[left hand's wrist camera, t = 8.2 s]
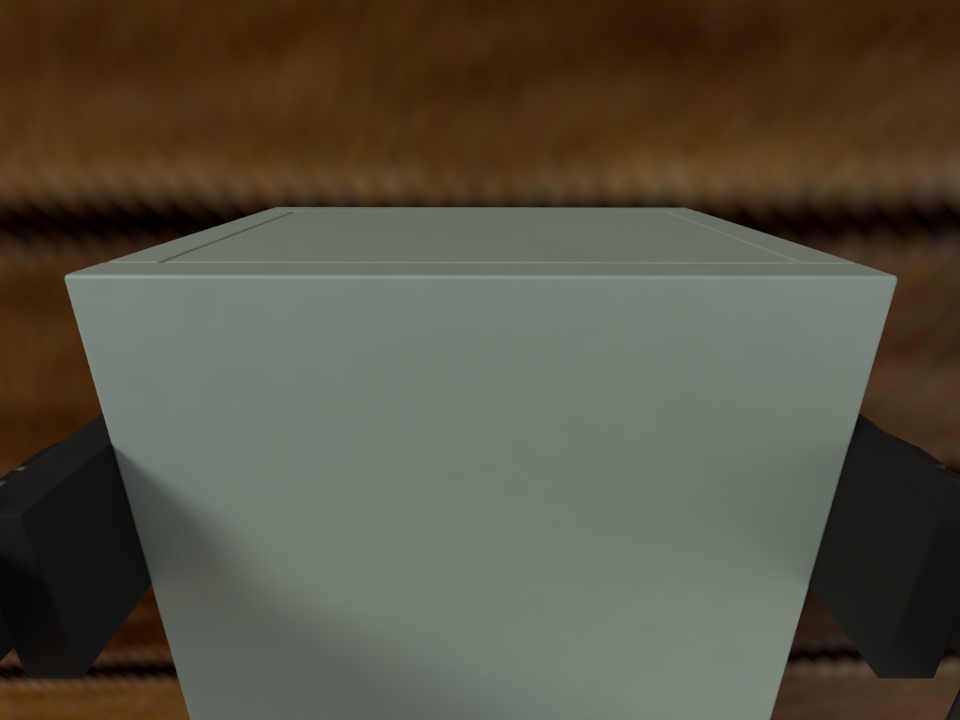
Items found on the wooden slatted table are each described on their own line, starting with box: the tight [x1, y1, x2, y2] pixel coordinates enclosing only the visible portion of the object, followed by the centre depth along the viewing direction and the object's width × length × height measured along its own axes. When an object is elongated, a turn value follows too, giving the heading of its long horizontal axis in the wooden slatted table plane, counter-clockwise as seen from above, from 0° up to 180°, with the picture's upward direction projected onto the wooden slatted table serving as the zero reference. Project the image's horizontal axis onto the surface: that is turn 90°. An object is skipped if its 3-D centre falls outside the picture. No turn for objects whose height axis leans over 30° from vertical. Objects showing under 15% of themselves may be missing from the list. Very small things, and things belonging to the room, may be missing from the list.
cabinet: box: [65, 207, 897, 720], centre depth 14 cm, size 18×11×8 cm, turn 0°
